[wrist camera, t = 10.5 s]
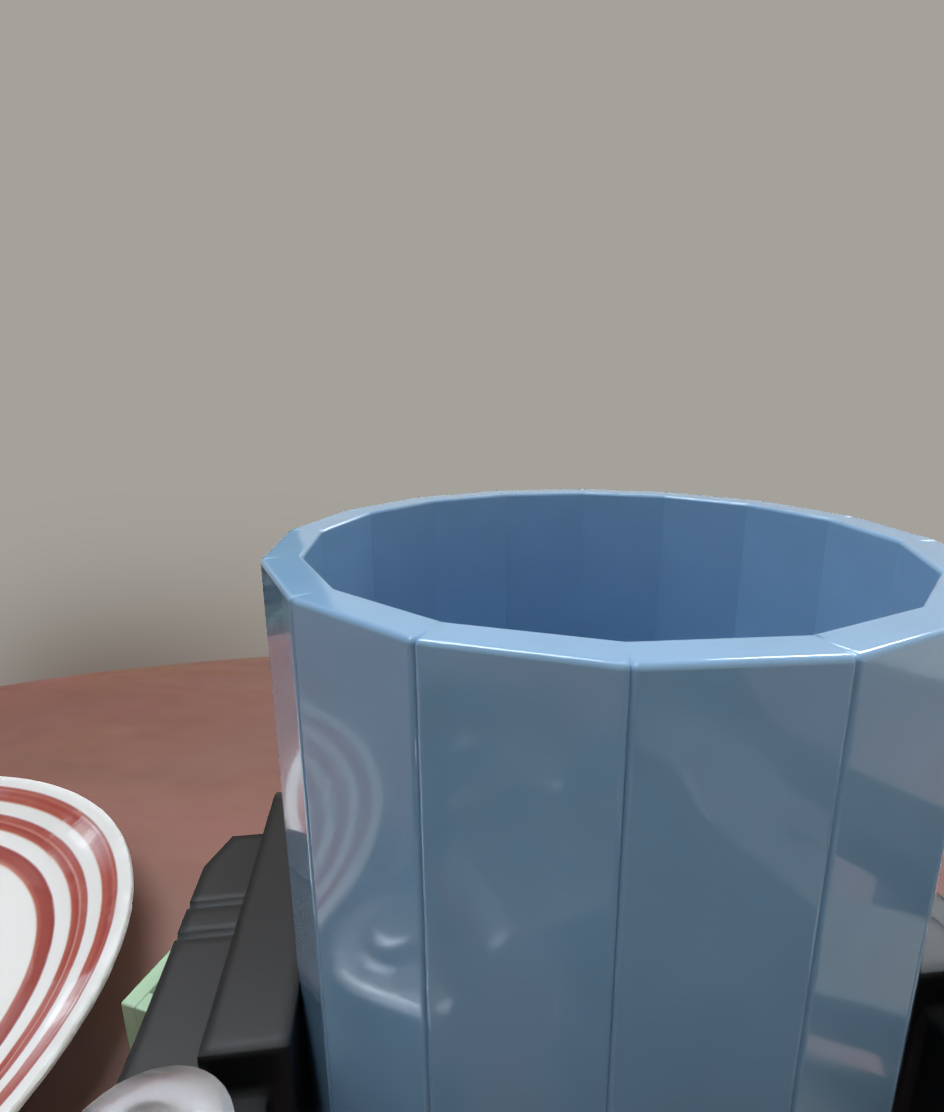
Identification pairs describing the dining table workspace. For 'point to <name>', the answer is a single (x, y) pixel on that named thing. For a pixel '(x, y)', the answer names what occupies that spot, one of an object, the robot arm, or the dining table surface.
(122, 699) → the dining table surface
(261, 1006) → the robot arm
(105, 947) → the dinner plate
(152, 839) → the dining table surface
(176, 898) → the dining table surface
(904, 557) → the tumbler
